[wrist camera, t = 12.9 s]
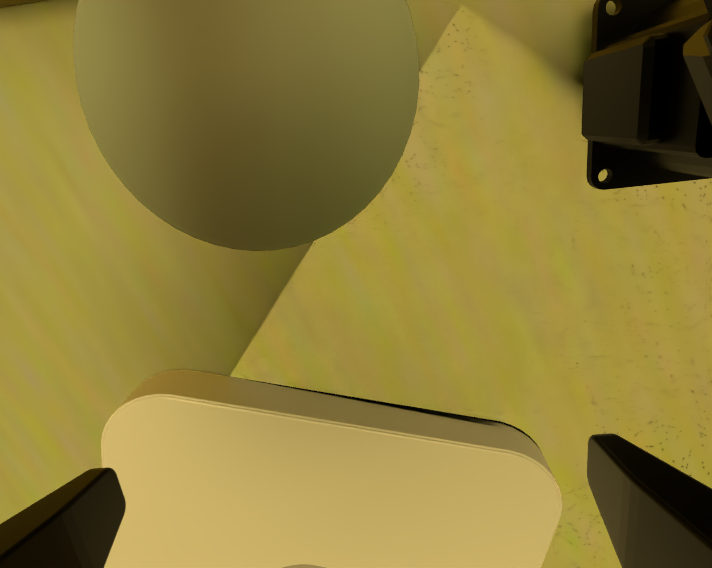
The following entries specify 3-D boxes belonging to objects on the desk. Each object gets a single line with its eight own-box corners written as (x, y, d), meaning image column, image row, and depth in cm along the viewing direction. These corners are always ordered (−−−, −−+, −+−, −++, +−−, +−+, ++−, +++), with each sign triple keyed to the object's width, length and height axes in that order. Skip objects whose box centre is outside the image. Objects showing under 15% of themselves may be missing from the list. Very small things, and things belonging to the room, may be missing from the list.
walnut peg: (389, 10, 18) (404, -162, 7) (402, 171, 20) (430, 233, 9) (234, 32, 18) (24, -98, 7) (262, 187, 20) (126, 265, 9)
